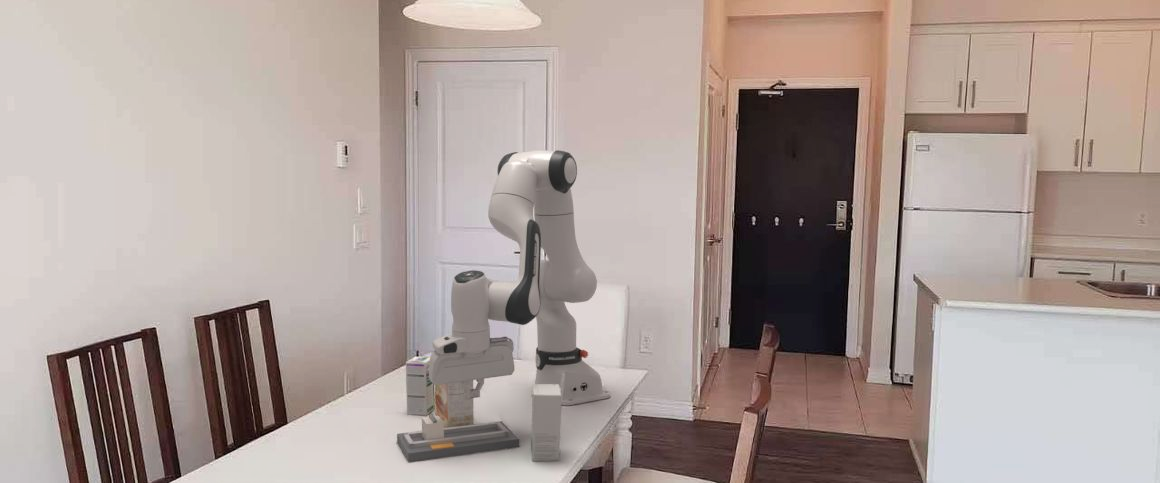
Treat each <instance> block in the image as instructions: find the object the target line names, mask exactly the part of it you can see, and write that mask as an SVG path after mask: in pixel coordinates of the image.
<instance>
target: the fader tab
mask: <svg viewBox="0 0 1160 483" xmlns="http://www.w3.org/2000/svg"><path fill="white" fill-rule="evenodd" d="M421 431H422V437H423V438H424V440H432V439H440V438H444V422H443V420H442V419H441V418H440V417H439V416H435V415H433V414H432V413H429V414H428V416H424V417H421Z"/></svg>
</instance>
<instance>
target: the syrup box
mask: <svg viewBox="0 0 1160 483" xmlns="http://www.w3.org/2000/svg"><path fill="white" fill-rule="evenodd" d="M429 362H430V356H414V357H412V358H411V359H408V360H407V361H405V376H406V377H405V379H406V380H405V383H406V384H405V386H406V414H407V415H411V416H424V417H428V416H429V414H431V413H432V412H434V411H435V385H434V384H433V383H432V382H431V381H430V379H429Z"/></svg>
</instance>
